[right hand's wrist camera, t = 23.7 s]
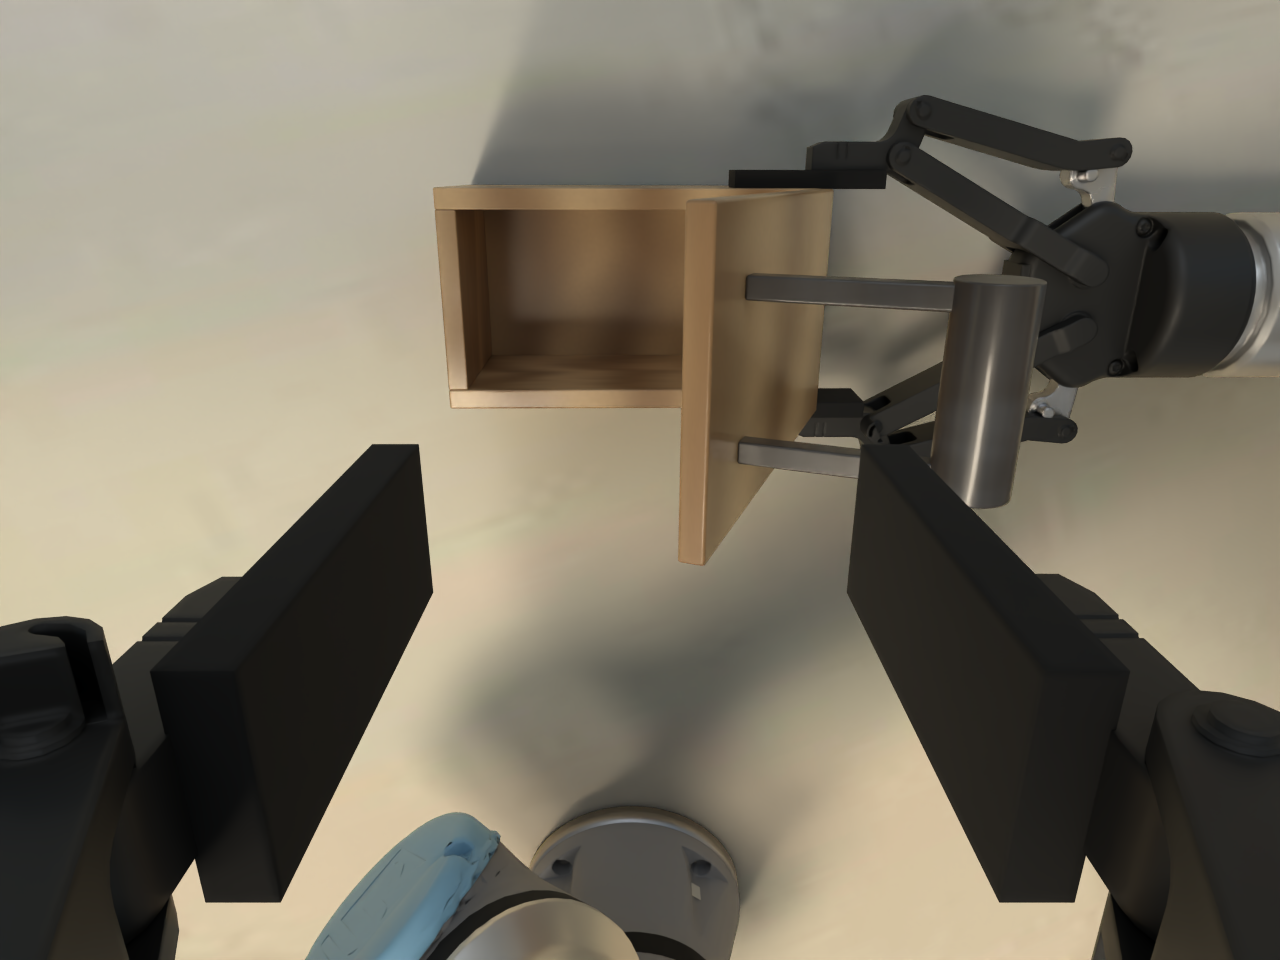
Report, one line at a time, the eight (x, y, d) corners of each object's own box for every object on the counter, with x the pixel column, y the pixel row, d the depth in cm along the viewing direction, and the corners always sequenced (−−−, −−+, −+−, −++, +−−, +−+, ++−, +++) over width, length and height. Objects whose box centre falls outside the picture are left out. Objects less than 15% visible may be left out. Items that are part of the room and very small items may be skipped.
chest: (479, 367, 46) (450, 409, 38) (468, 184, 43) (432, 187, 35) (772, 366, 46) (805, 407, 38) (783, 185, 43) (821, 188, 35)
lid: (677, 562, 23) (1002, 618, 20) (684, 199, 20) (1074, 205, 17) (798, 409, 38) (994, 429, 35) (814, 188, 35) (1032, 190, 32)
